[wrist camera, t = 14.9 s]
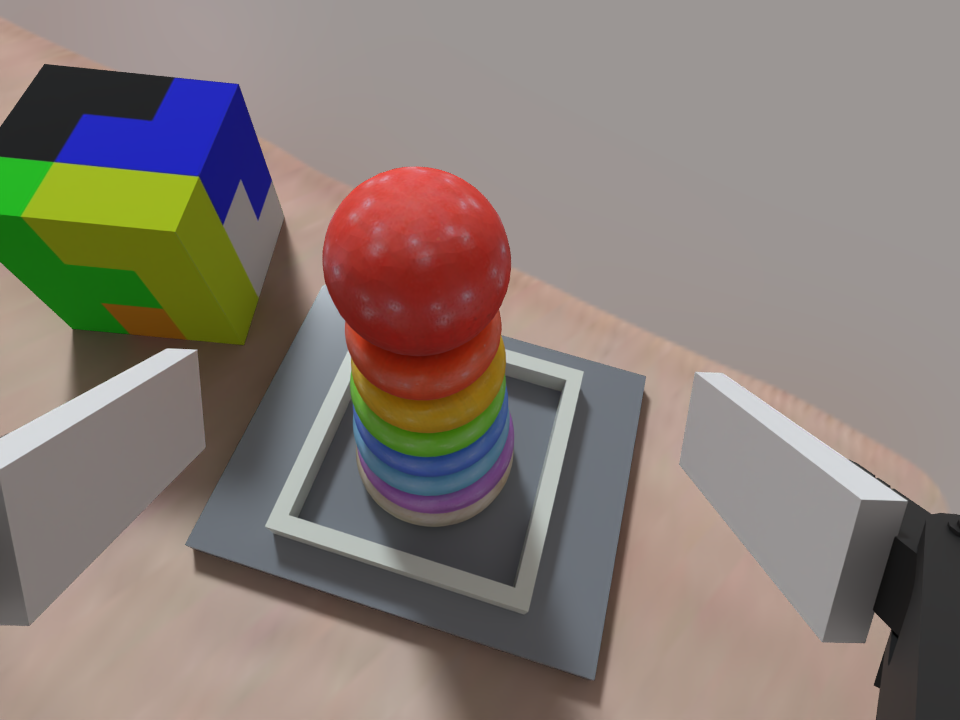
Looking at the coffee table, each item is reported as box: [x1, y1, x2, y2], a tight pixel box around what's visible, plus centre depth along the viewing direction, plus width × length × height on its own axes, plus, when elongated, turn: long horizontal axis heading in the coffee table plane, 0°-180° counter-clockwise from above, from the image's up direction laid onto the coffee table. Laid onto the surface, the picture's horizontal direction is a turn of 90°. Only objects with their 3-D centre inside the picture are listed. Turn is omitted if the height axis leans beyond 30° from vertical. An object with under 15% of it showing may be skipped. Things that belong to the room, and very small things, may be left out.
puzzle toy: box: [0, 64, 284, 345], centre depth 32 cm, size 10×10×10 cm
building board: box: [185, 285, 646, 680], centre depth 30 cm, size 20×16×2 cm
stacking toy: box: [323, 167, 514, 527], centre depth 22 cm, size 8×8×19 cm
